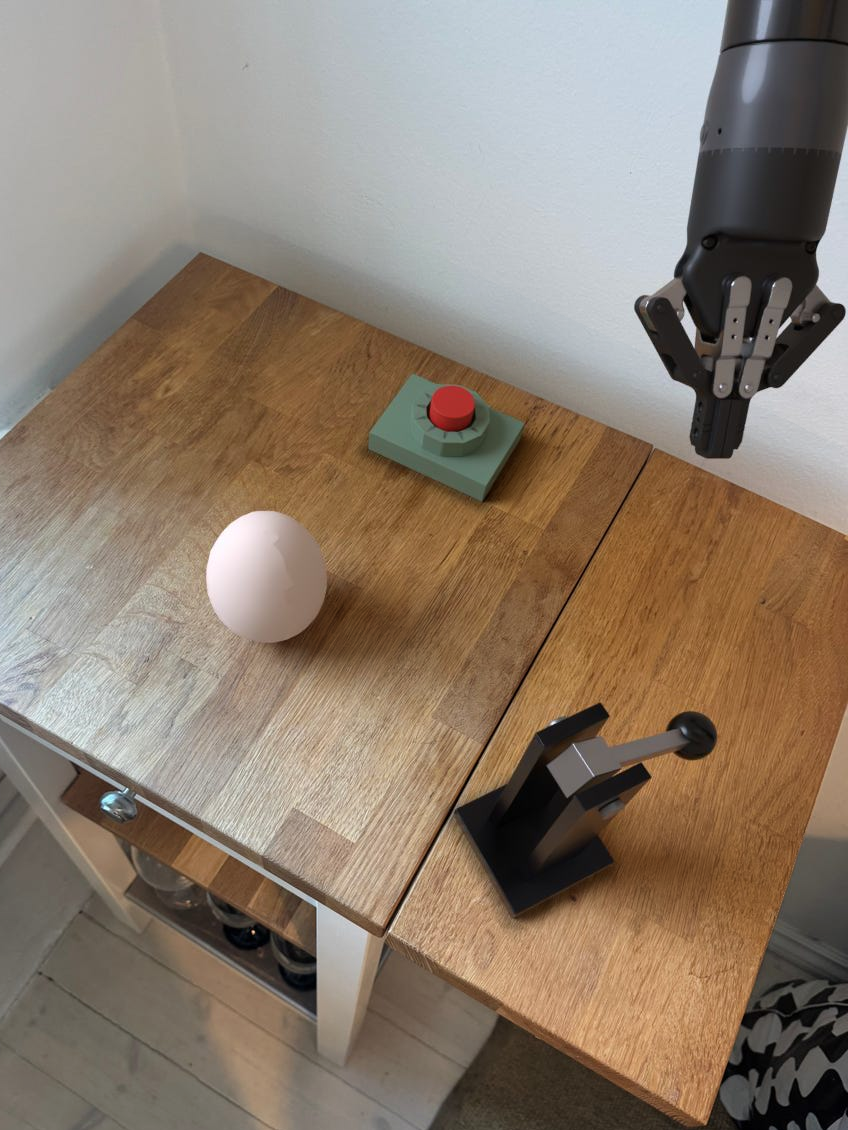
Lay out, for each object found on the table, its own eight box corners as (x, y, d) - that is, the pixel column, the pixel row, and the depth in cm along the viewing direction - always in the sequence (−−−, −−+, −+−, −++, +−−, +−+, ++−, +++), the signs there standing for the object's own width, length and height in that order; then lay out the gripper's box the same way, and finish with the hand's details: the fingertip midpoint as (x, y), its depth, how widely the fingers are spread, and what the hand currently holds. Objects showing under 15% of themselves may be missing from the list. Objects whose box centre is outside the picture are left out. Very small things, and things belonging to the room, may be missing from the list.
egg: (304, 558, 74) (305, 465, 64) (341, 647, 71) (347, 564, 61) (199, 586, 72) (182, 496, 62) (231, 680, 69) (218, 600, 59)
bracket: (548, 767, 67) (611, 667, 53) (610, 866, 64) (695, 787, 50) (452, 814, 65) (493, 723, 51) (511, 919, 61) (572, 851, 48)
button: (440, 393, 79) (443, 379, 77) (478, 410, 78) (482, 395, 77) (421, 421, 77) (424, 406, 76) (460, 438, 77) (463, 424, 75)
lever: (671, 725, 63) (706, 698, 61) (700, 765, 61) (736, 739, 59) (536, 761, 53) (572, 731, 51) (566, 810, 51) (605, 780, 49)
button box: (410, 390, 84) (414, 357, 80) (520, 440, 82) (529, 408, 78) (368, 449, 80) (370, 417, 77) (482, 502, 78) (490, 471, 75)
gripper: (691, 134, 47) (639, 470, 54) (921, 149, 49) (843, 470, 56) (630, 147, 54) (591, 443, 61) (835, 159, 56) (775, 444, 63)
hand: (712, 456), depth 59 cm, fingers closed
